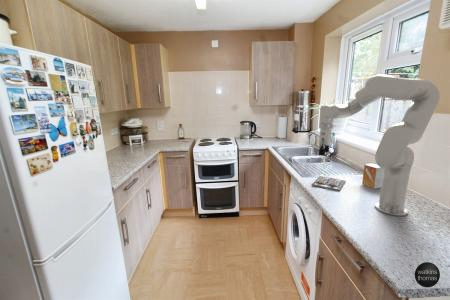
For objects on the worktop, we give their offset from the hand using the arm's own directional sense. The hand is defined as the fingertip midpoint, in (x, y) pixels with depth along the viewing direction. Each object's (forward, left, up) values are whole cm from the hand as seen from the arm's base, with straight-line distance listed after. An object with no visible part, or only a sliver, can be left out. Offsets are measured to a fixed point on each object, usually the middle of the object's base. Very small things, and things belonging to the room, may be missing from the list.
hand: (323, 153), depth 133 cm
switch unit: (+2, -4, -20) cm, 21 cm away
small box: (+13, -26, -20) cm, 35 cm away
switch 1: (-2, 0, -19) cm, 19 cm away
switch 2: (-2, -7, -19) cm, 20 cm away
